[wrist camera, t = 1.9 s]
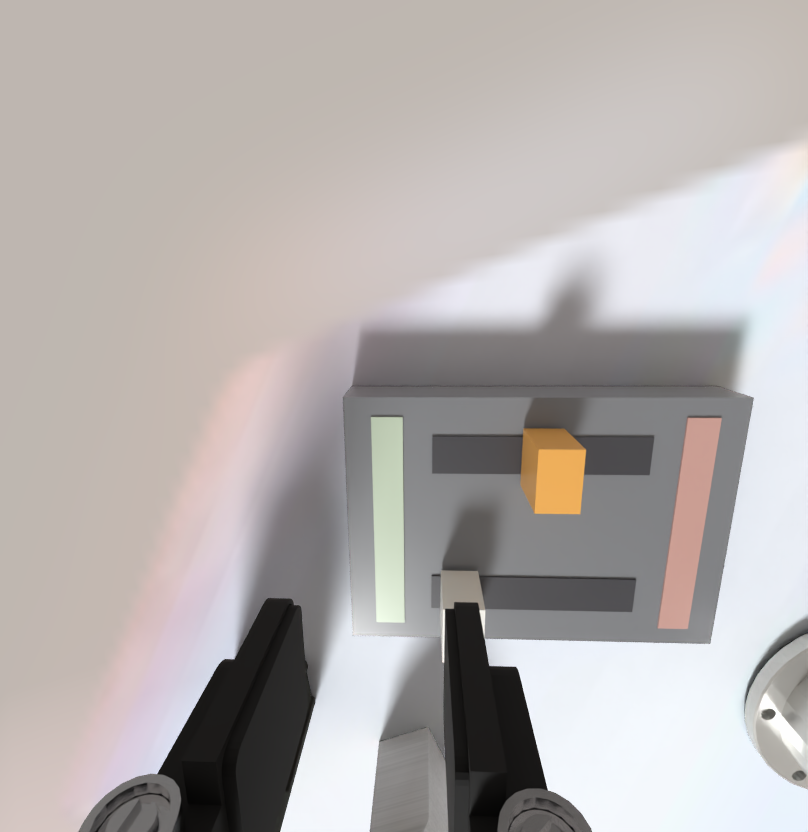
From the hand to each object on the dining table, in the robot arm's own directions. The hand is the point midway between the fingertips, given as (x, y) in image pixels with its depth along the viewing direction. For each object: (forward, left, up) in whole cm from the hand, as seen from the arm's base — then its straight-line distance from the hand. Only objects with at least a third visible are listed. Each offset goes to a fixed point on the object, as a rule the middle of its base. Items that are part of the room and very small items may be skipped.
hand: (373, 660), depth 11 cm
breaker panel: (-7, +4, -17) cm, 19 cm away
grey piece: (-1, +24, -18) cm, 30 cm away
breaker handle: (-7, 0, -14) cm, 16 cm away
